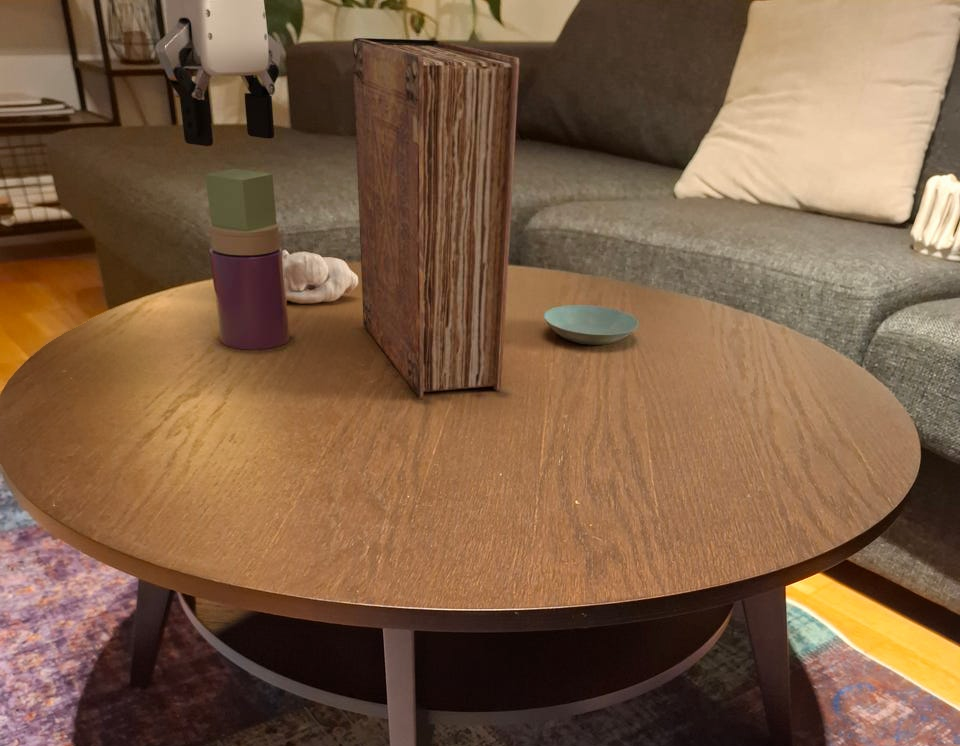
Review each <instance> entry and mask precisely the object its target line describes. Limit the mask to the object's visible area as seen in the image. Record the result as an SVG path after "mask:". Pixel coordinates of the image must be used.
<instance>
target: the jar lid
mask: <svg viewBox="0 0 960 746" xmlns="http://www.w3.org/2000/svg"><path fill="white" fill-rule="evenodd" d="M208 230H209V231H208V232H209V238H210V239H209V240H210V248H212V249H213V250H214V251H216V252H219V253H223V254H229V255H244V256H246V255H262V254H268V253H272V252H275V251H277V250H278V249H279V248H280V247H281V243H280V232H279V224H278V223H277V222H276V224H273V225H270V226H266V227H262V228H258V229H255V230H251V231H243V230H237V229H231V228H226V227H220V226H214V225H212V224H211V221H210V222H209V223H208Z"/></svg>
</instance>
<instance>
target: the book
mask: <svg viewBox="0 0 960 746" xmlns="http://www.w3.org/2000/svg"><path fill="white" fill-rule="evenodd" d="M351 42H352V63H353V64H352V65H353V66H352V67H353V89H354V91H353V92H354V93H353V94H354V114H355V117H354V118H355V143H356V166H357V170H356V171H357V192H358V193H357V194H358V217H359V218H358V220H359V221H358V222H359V246H360V269H361V292H362V293H361V295H362V296H361V297H362V320H363V321H362V322H363V327H364V328H365V329H366V331H367V332H368V333H369V335H370V336H371V337H372V339H373V340H374V341H375V343H376V344H377V345H378V347H379V348H380V349H381V351H382V352H383V353H384V355H385V356H386V358H387V359H388V360H389V361H390V363H391V364H392V366H393V367H394V368H395V370H396V372H398V373H399V375H400V376H401V378H402V379H403V380H404V382H405V383H406V385H408V387H409V388H410V390H411V391H412V392H413V394H414V395H415V396H416V398H417V399H418V400H422V399H423V398H424V393H429V392H439V391H440V392H441V391H451V390H462V389H474V388H485V387H491V388H493V390H494V391H496V392H498V391H501V390H502V379H503V363H504V362H503V361H504V343H505V329H506V328H505V327H506V309H507V308H506V307H507V293H508V292H507V291H508V275H509V274H508V272H509V257H510V240H511V239H510V237H511V220H512V219H511V217H512V205H513V204H512V201H513V185H514V183H513V182H514V170H515V169H514V167H515V148H516V130H517V116H518V115H517V112H518V95H519V78H520V77H519V76H520V58H519V57H517V56H511V55H506V54H502V53H498V52H492V51H488V50H483V49H479V48H473V47H468V46H464V45H458V44H453V43H448V42H444V41H440V40H432V39H406V38H405V39H403V38H373V37H372V38H371V37H370V38H369V37H355V38H353V40H352V41H351Z"/></svg>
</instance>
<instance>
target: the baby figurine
mask: <svg viewBox="0 0 960 746" xmlns="http://www.w3.org/2000/svg"><path fill="white" fill-rule="evenodd" d="M282 250H283V262H284V274H285V286H286V298H287V302H288V301H289V302H291V303H295V304H303V305H304V304H318V303H321V302H324V303H330V302H334V301H336V300H338V299H339V298H340V297H341V296H343V295H346V294H349V293H350V292H352V291H353V290H354V289H355V288H357V286H358V285H359V277H358V274H356V273H355V272H354V271H352V269H351V268H350V267H349V266H348V264H347V262H346V261H344V260H343V259H341V258H337V257H330V256H329V257H327V256H326V257H325V256H324V257H322V255H320V254H317V253H312V252H309V251H298V252H293V253H289V251H287V249H282Z"/></svg>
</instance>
